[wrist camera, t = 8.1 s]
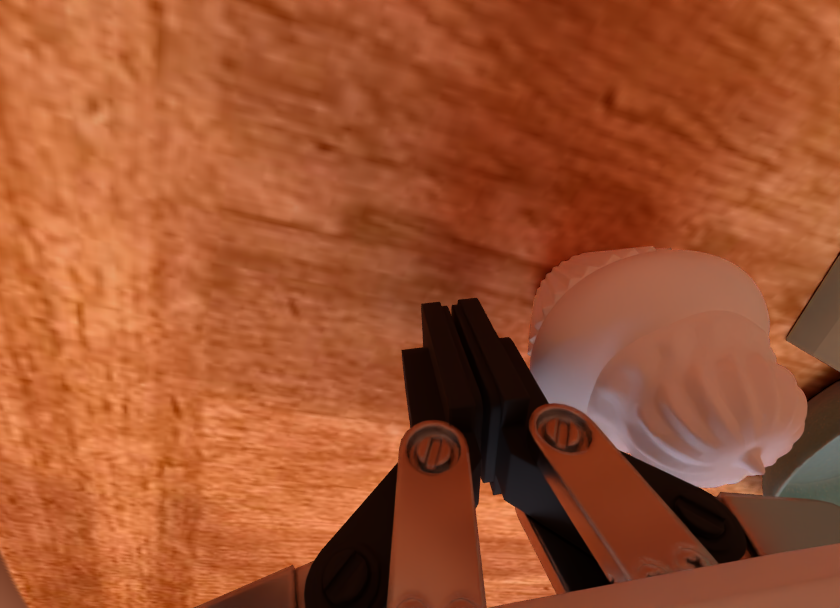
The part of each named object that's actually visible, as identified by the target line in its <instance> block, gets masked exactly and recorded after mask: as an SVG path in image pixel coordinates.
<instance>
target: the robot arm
mask: <svg viewBox="0 0 840 608" xmlns="http://www.w3.org/2000/svg"><path fill="white" fill-rule="evenodd" d="M421 313H422V331H423V348H414V349H406V350H402V361H403V371H404V380H405V389H406V397H407V405H408V412H409V420H410V429H409V430H408V431H407V432H406V433H405V435H404V436H403V438H402V439H401V443H400V447H399V457H398V463H397V464H396V465H395V466H394V468H393V469H392V470H391V471H390V472H389V473H388V475H387V476H386V477H385V478H384V479H383V480H382V481H381V483H380V484H379V485H378V486H377V487H376V488H375V489H374V491H373V492H372V493H371V494H370V495H369V496H368V497H367V499H366V500H365V501H364V502H363V503H362V504H361V506H360V507H359V508H358V509H357V510H356V511H355V512H354V514H353V515H352V516H351V517H350V518H349V519H348V520H347V522H346V523H345V524H344V525H343V526H342V527H341V529H340V530H339V531H338V532H337V533H336V534H335V535H334V537H333V538H332V539H331V540H330V541H329V542H328V543H327V545H326V546H325V547H324V548H323V549H322V550H321V551H320V553H319V554H318V556H317V557H316V559H315V560H314V561H312V562H310V563H308V564H305V565H303V566H301V567H298V568H296V569H295V568H294V566H293V565H291V566H289V567H287V568H284V569H282V570H280V571H278V572H275V573H273V574H271V575H268V576H266V577H264V578H261V579H259V580H257V581H254V582H252V583H250V584H247V585H245V586H243V587H241V588H238V589H236V590H234V591H231V592H229V593H227V594H224V595H222V596H220V597H217V598H215V599H213V600H210V601H208V602H206V603H203V604H201V605H199V606H197V607H194V608H487V607H486V598H485V589H484V580H483V571H482V563H481V554H480V545H479V536H478V527H477V518H476V510H475V509H476V507H477V505H478V502H479V489H480V476H481V479H482V481H483V483H487V482H490V485H491V488H492V492H493V495H497V494H502V495H503V498H504V500H505V501H507V502H508V503H510V504H512V505H513V506H515V510H516V513H517V516H518V519H519V521H520V523H521V525H522V527H523V528H524V530H525V532H526V534H527V536H528V538H529V540H530V542H531V544H532V546H533V548H534V550H535V552H536V554H537V556H538V558H539V560H540V562H541V564H542V566H543V568H544V570H545V572H546V574H547V576H548V578H549V580H550V582H551V584H552V586H553V588H554V590H555V592H556V594H557V595H552V596H547V597H541V598H536V599H531V600H526V601H520V602H515V603H510V604H505V605H500V606H494V607H489V608H840V506H838V505H836V504H833V503H830V502H826V501H821V500H816V499H803V498H790V497H777V496H764V495H751V494H738V493H725V492H720V493H719V495H718V496H717V497H715V496H713V495H711V494H709V493H707V492H706V491H704V490H702V489H701V488H699V487H697V486H694V485H692V484H690V483H688V482H686V481H684V480H682V479H680V478H677V477H675V476H673V475H671V474H669V473H667V472H665V471H662V470H660V469H658V468H656V467H654V466H652V465H650V464H648V463H645V462H643V461H641V460H639V459H637V458H635V457H633V456H631V455H628V454H626V453H624V452H622V451H620V450H618V449H617V448H616V447H615V445H614V444H613V443H612V442H611V441H610V440H609V439H608V437H607V436H606V435H605V434H604V433H603V432H602V431H601V430H600V428H599V427H598V426H597V425H596V424H595V423H594V422H593V420H591V419H590V418H589V417H588V416H587V415H586V414H585V413H583V412H581V411H580V410H578V409H576V408H574V407H571V406H568V405H565V404H558V403H551V404H549V403H548V401H547V399H546V397H545V396H544V394H543V392H542V391H541V389H540V387H539V385H538V384H537V382H536V380H535V379H534V377H533V375H532V373H531V372H530V370H529V368H528V367H527V365H526V363H525V361H524V360H523V358H522V356H521V355H520V353H519V351H518V349H517V348H516V346H515V344H514V343H513V341H512V340H511V338H509V337H505V338H499V337H498V336H497V334H496V332H495V330H494V328H493V326H492V324H491V322H490V321H489V319H488V317H487V315H486V313H485V311H484V309H483V307H482V306H481V304H480V302H479V300H478V299H477V298H469V299H460V300H458V303H457V305H452V308H451V314H450V311H449V308H448V306H441V303H440V302H433V303H424V304H421Z"/></svg>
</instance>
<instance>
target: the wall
mask: <svg viewBox="0 0 840 608" xmlns="http://www.w3.org/2000/svg"><path fill="white" fill-rule="evenodd" d="M786 340H787V341H788V342H790V343H792V344H793V345H795V346H797V347H798V348H800V349H802V350H803V351H805V352H807V353H808V354H810V355H812V356H814V357H816V358H817V359H819V360H821V361H822V362H824V363H826V364H827V365H829V366H831V367H832V368H834V369H836V370H837V371H839V372H840V255H839V256H838V258H837V259H836V261H835V263H834V264H833V266H832V267H831V269H830V270H829V272H828V274H827V275H826V277H825V278H824V280H823V281H822V283H821V285H820V286H819V288H818V289H817V291H816V292H815V294H814V296H813V297H812V299H811V300H810V302H809V303H808V305H807V307H806V308H805V310H804V311H803V313H802V314H801V316H800V318H799V319H798V321H797V322H796V324H795V325H794V327H793V329H792V330H791V332H790V333H789V335H788V336H787V338H786Z"/></svg>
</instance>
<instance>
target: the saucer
mask: <svg viewBox="0 0 840 608" xmlns="http://www.w3.org/2000/svg"><path fill="white" fill-rule="evenodd" d="M807 405H808V407H807V416H806V419H805V421H804V422H805V427H804V432H803V433H802V435H801V437H800V438H799V439H798V440H797V441H796V442H795V443H793V446H792V449H791V450H790V451H789V452H788V453H786V454H785V455H783V456H781V457H780V458H778V459H777V461H776V463H774V464H773V465H771V466H767V467H765V473H764V475H762V486H763V495H764V496H777V497H790V498H803V499H816V500H821V501H826V502H830V503H833V504H836V505H838V506H840V380H839V381H837V382H836V383H834V384H832V385H831V386H829V387H827V388H826V389H825V390H823V391H822V392H820V393H819V394H817V395H816V396H815V397H813V398H812V399H811V400H809V401H808V402H807Z"/></svg>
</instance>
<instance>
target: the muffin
mask: <svg viewBox="0 0 840 608" xmlns="http://www.w3.org/2000/svg"><path fill="white" fill-rule="evenodd" d="M540 285H541V286H540V287H539V288H538V289H537V290H536V296H535V297H534V303H533V311H532V318H531V326H530V333H529V345H528V355H529V356H530V372H531V373H532V375H533V377H534V379H535V380H536V382H537V384H538V385H539V387H540V389H541V391H542V392H543V394H544V396H545V397H546V399H547V401H548V403H549V404H551V403H558V404H565V405H568V406H571V407H574V408H576V409H578V410H580V411H581V412H583V413H585V414H586V415H587V416H588V417H589V418H590V419H591V420H593V422H594V423H595V424H596V425H597V426H598V427H599V428H600V430H601V431H602V432H603V433H604V434H605V435H606V436H607V437H608V439H609V440H610V441H611V442H612V443H613V444H614V445H615V447H616V448H617V449H618V450H620V451H623V452H626V453H630V454H631V456H633V457H635V458H637V459H639V460H641V461H643V462H645V463H648V464H650V465H652V466H654V467H656V468H658V469H660V470H662V471H665V472H667V473H669V474H671V475H673V476H675V477H677V478H680V479H682V480H684V481H686V482H688V483H690V484H692V485H694V486H697V487H701V488H713V487H719V486H722V485H725V484H735V483H738V482H740V481H742V480H743V479H744V478H745V477H746V476H755V475H764V473H765V467H767V466H771V465H773V464H774V463H776V461H777V459H778V458H780V457H781V456H783V455H785V454H786V453H788V452H789V451H790V450H791V449H792V446H793V443H795V442H796V441H797V440H798V439H799V438H800V437H801V435H802V433H803V432H804V427H805V422H804V421H805V419H806V416H807V407H808V405H807V400H806V396H805V394H804V392H803V391H802V390H801V389H800V388H799V387H798V386H797V382H796V379H795V377H794V375H793V374H792V373H791V372H790V371H789V370H788V369H787V368H785V367H783V366H781V365H779V364H777V363H776V356H775V354H774V352H773V351H772V349H771V348H770V339H769V332H770V320H769V315H768V309H767V306H766V303H765V300H764V298H763V296H762V293H761V291H760V290H759V288H758V286H757V285H756V283H755V282H754V281H753V279H752V278H751V277H750V276H749V275H748V274H747V273H746V272H745V271H744V270H742V269H741V268H740V267H738V266H737V265H735V264H734V263H732V262H730V261H728V260H726V259H723V258H721V257H718V256H714V255H711V254H707V253H703V252H698V251H690V250H672V249H671V248H659V249H655V247H653V246H647V247H637V248H627V249H617V250H608V251H598V252H589V253H581V254H580V255H577V256H572V257H571V258H570V259H569V260H568V261H561V263H560V265H559V266H557V267H553V269H552V272H550V273H547V274H546V279H544V280H542V281H541V283H540Z"/></svg>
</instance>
